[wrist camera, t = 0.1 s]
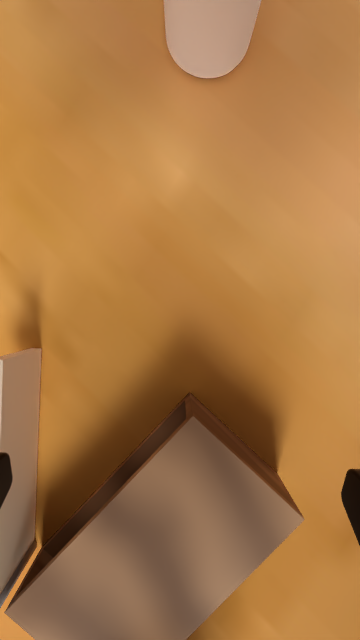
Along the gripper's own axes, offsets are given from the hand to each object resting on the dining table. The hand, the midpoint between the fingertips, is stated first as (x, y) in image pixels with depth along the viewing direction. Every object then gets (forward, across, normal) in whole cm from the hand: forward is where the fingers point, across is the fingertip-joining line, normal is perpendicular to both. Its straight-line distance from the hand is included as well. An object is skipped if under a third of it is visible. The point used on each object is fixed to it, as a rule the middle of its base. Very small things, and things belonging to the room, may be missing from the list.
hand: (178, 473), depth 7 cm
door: (+13, +12, +11) cm, 21 cm away
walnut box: (+12, +1, +16) cm, 20 cm away
